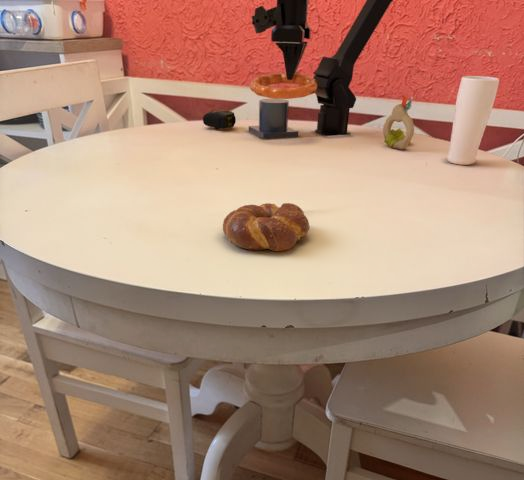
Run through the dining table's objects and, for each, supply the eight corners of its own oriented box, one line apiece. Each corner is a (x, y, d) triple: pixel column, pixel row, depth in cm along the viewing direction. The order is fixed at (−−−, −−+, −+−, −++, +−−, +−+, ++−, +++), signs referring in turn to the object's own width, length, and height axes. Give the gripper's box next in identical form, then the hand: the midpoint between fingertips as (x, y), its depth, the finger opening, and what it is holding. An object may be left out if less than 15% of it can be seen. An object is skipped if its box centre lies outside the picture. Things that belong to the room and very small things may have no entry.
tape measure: (201, 128, 122) (201, 112, 120) (219, 124, 127) (219, 108, 125) (223, 132, 119) (223, 115, 117) (241, 128, 123) (240, 111, 121)
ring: (301, 79, 112) (301, 69, 111) (328, 95, 103) (328, 84, 101) (242, 86, 109) (242, 75, 108) (264, 102, 99) (264, 91, 98)
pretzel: (267, 215, 71) (268, 189, 69) (328, 236, 65) (331, 208, 63) (204, 236, 64) (202, 208, 62) (265, 262, 58) (266, 232, 56)
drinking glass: (462, 157, 104) (482, 75, 96) (485, 165, 99) (508, 79, 90) (435, 159, 102) (453, 76, 93) (457, 167, 97) (478, 80, 88)
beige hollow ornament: (428, 149, 110) (440, 90, 103) (399, 152, 106) (409, 92, 100) (405, 142, 115) (414, 86, 108) (377, 145, 112) (385, 87, 105)
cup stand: (281, 129, 124) (283, 97, 120) (298, 136, 117) (300, 102, 113) (248, 131, 121) (248, 98, 117) (263, 139, 114) (264, 104, 110)
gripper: (263, -8, 109) (261, 73, 118) (246, -11, 94) (245, 82, 103) (313, -7, 108) (308, 75, 117) (304, -10, 93) (299, 84, 102)
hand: (290, 79), depth 110 cm, fingers closed on ring, 2 cm apart
